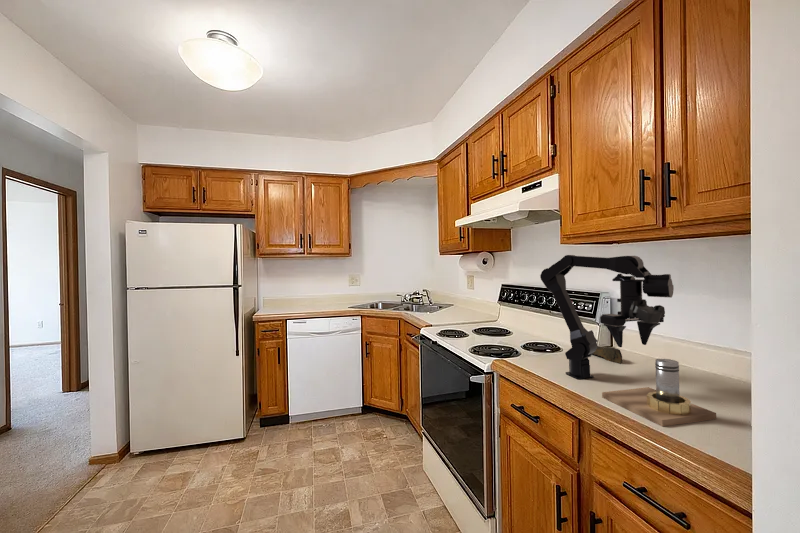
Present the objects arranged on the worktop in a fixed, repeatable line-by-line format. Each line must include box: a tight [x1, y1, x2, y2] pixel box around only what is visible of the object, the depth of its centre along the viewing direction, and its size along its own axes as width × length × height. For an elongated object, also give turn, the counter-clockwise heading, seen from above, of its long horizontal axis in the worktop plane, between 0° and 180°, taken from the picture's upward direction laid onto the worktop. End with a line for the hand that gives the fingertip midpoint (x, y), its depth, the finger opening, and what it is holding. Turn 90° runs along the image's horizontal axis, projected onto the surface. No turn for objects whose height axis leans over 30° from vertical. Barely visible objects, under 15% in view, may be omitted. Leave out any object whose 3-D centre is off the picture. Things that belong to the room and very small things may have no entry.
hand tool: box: [592, 345, 623, 364], centre depth 146 cm, size 23×5×6 cm, turn 10°
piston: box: [654, 358, 681, 403], centre depth 92 cm, size 5×5×12 cm
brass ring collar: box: [647, 392, 692, 415], centre depth 92 cm, size 9×9×2 cm
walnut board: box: [601, 386, 717, 427], centre depth 95 cm, size 19×16×2 cm
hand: (632, 345), depth 110 cm, fingers open, 9 cm apart
